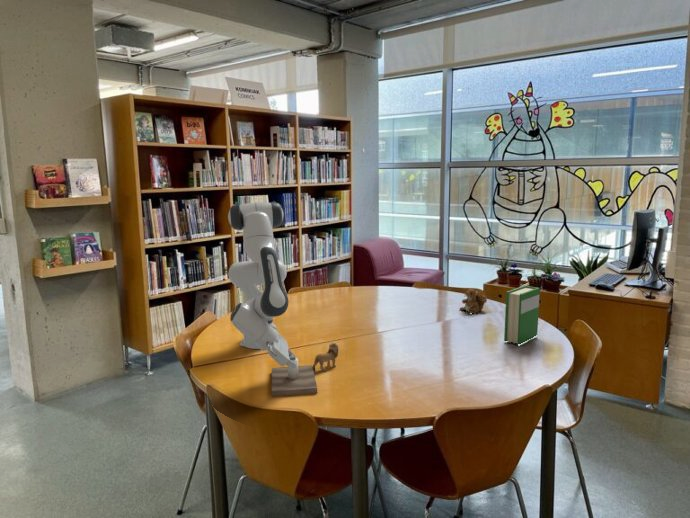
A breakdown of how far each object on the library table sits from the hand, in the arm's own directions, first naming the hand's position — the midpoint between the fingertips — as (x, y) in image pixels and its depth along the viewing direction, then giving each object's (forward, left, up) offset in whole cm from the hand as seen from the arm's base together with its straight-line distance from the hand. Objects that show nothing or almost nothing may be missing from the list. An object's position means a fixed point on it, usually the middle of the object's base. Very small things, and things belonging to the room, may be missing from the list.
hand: (294, 362), depth 187 cm
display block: (0, -1, -8) cm, 8 cm away
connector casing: (0, -1, -6) cm, 6 cm away
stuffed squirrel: (-83, +105, -8) cm, 134 cm away
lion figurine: (-13, +13, -8) cm, 20 cm away
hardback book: (-31, +106, -8) cm, 111 cm away
